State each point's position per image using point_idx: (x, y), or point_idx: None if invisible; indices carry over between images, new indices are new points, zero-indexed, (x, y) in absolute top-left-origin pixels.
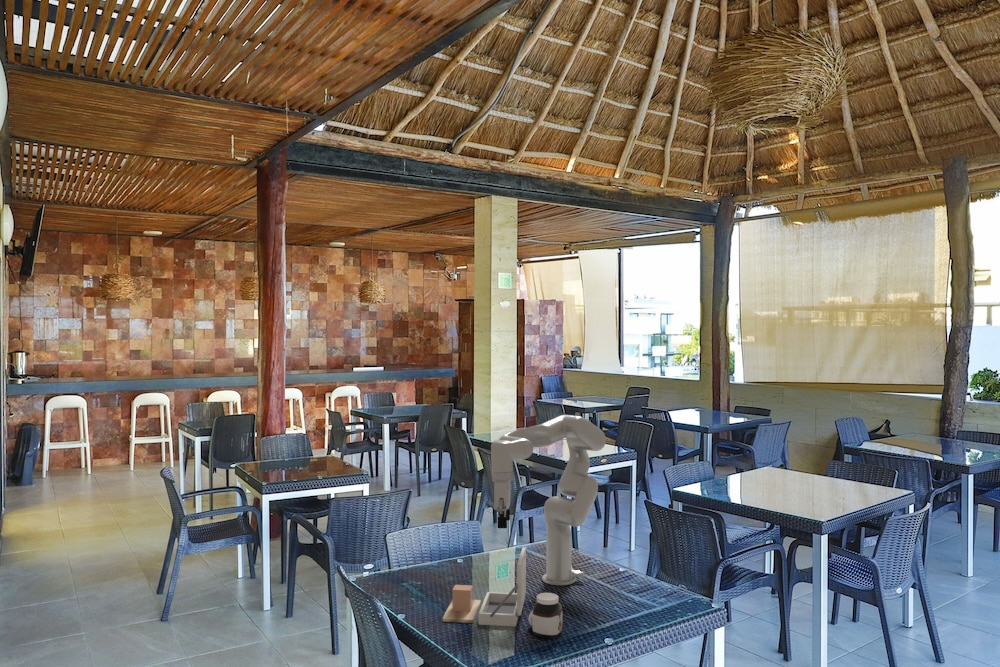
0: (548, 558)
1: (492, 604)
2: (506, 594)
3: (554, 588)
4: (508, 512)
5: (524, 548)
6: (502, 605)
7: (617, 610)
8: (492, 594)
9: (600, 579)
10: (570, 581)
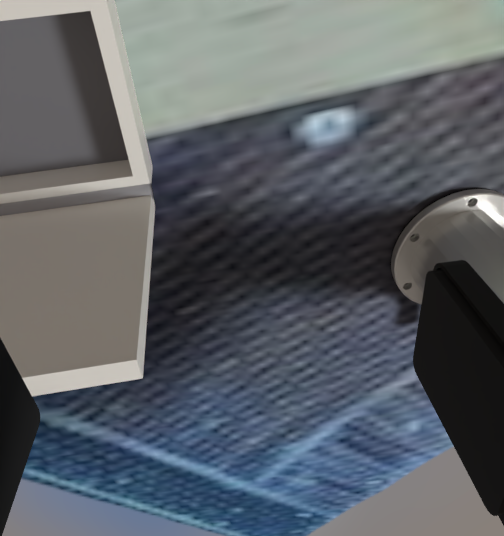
0: (487, 277)
1: (69, 31)
2: (117, 115)
3: (362, 250)
4: (468, 465)
5: (104, 378)
6: (79, 90)
7: (194, 428)
8: (97, 29)
9: None
10: (410, 299)
